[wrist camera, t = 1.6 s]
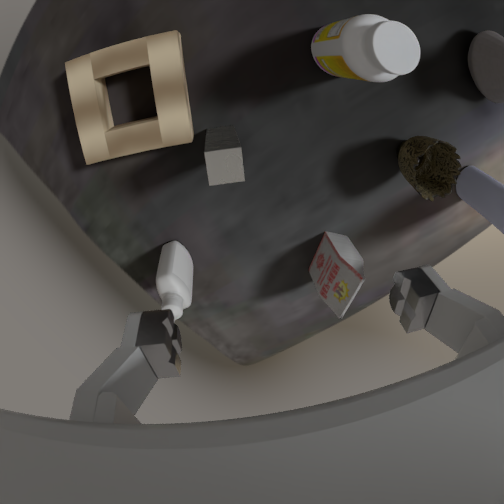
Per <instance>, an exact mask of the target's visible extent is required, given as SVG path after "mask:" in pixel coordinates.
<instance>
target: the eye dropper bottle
mask: <svg viewBox="0 0 504 504" xmlns="http://www.w3.org/2000/svg"><path fill="white" fill-rule="evenodd" d="M192 284H193V262H192V258H191V256H190V254H189V252H188V251H187V249H186V248H185V247H184V246H183V245H182V244H181V243H179V242H178V241H171V242H169V243H166V244H164V245H163V247H162V250H161V255H160V260H159V265H158V270H157V275H156V286H157V290H158V293H159V295H160V297H161V299H162V307H161V310H165V309H170V310H172V312H173V315H174V321H175V320H176V319H178V318H180V317H181V316H182V314H183V309H185V308H187V307H189V306H190V305H191V301H192Z"/></svg>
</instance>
